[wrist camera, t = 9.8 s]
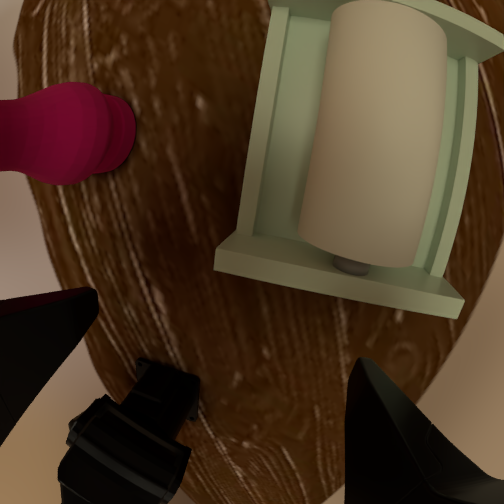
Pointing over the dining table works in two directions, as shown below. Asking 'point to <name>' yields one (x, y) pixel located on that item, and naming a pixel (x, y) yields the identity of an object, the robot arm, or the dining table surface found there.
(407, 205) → the kitchen roll
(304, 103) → the roll cradle
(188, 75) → the dining table surface
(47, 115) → the pepper mill
